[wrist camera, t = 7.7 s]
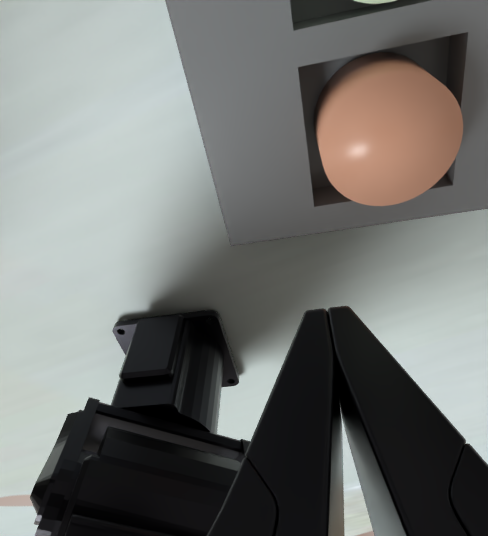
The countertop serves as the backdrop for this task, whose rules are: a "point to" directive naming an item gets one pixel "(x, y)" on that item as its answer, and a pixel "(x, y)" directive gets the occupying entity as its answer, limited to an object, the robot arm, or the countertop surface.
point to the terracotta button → (386, 129)
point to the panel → (306, 96)
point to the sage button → (374, 1)
